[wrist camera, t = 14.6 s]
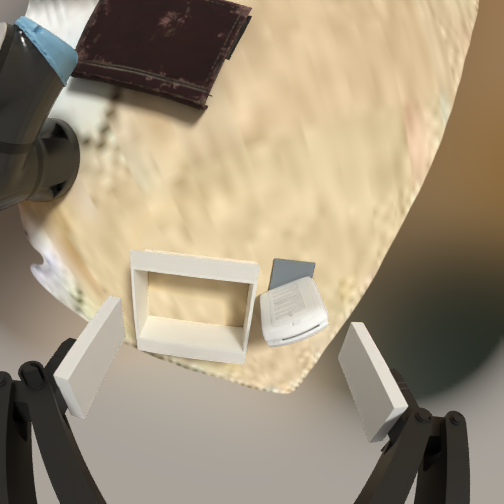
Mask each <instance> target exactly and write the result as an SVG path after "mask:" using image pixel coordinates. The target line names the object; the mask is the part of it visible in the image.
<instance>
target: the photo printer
mask: <svg viewBox="0 0 504 504" xmlns="http://www.w3.org/2000/svg"><path fill="white" fill-rule="evenodd" d="M260 309H261V324H262V334H263V337H264V339H265V340H266V342H267V343H268V346H270V347H277V346H284V345H288V344H292V343H295V342H298V341H301V340H304V339H306V338H308V337H311V336H313V335H315V334H316V333H318V332H320V331H322V330H323V329H324V328H326V327H327V326H328V325H329V323H328V312H327V309H326V307H325V304H324V302H323V300H322V297H321V295H320V292H319V290H318V288H317V286H316V283H315V281H314V280H313V279H312V278H310V277H309V276H307V277H303V278H300V279H297V280H294V281H292V282H289V283H287V284H284V285H282V286H279V287H277V288H274V289H272V290H269V291H267V292H265V293H263V294H261V295H260Z"/></svg>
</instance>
